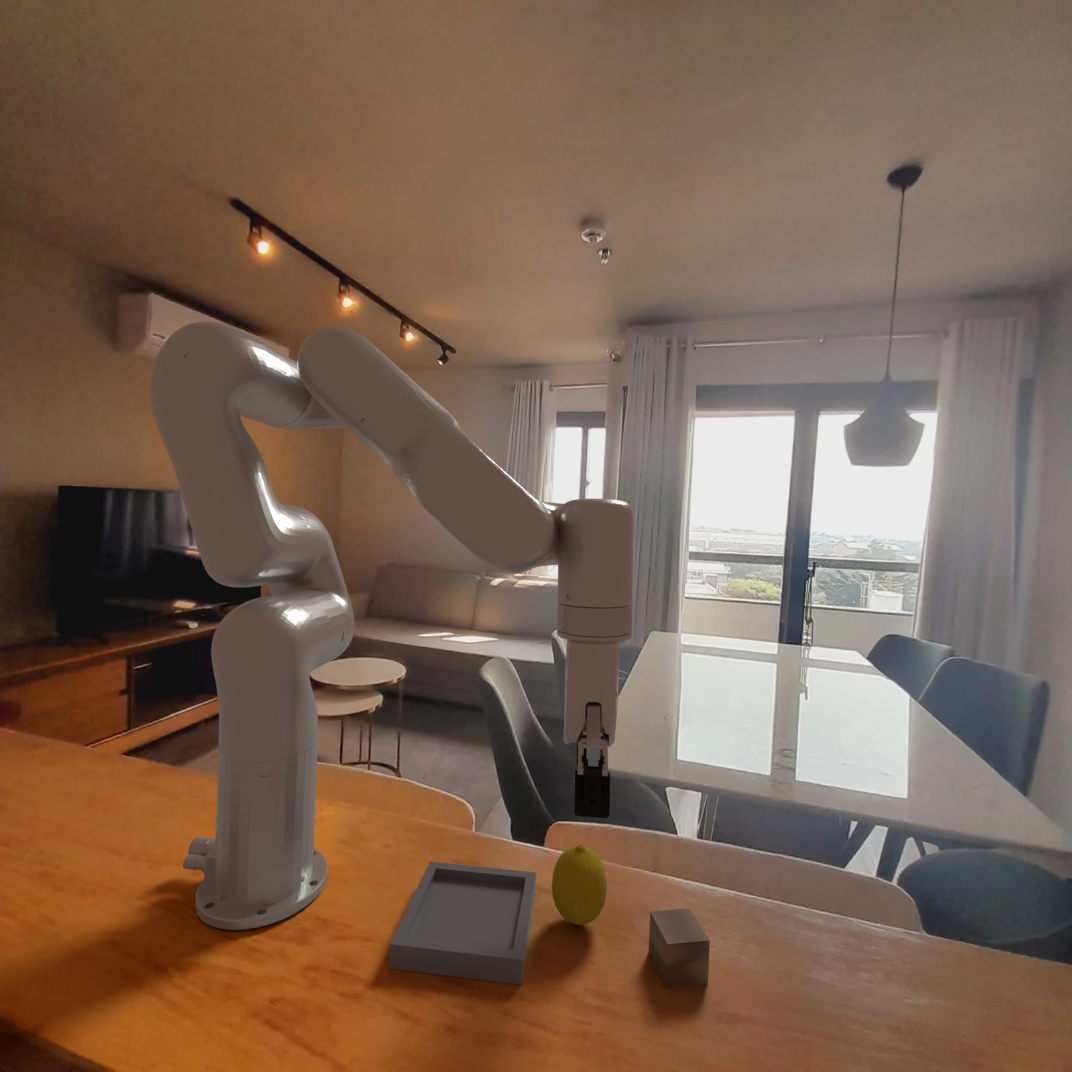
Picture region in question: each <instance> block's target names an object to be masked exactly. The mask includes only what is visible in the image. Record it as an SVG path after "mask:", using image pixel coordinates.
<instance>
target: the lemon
mask: <svg viewBox="0 0 1072 1072" xmlns="http://www.w3.org/2000/svg"><path fill="white" fill-rule="evenodd" d="M555 862H556V863H555V865H554V868H553V873H552V880H551V893H552V899H553V901H554V902H553V903H554V905H555V908H556V910H557V911H558V913H559V915H561V917H563V918H564V920H565V921H567V922H568V923H571V924H573V925H575V926H577V927H578V926H581V925H588V924H589V923H591V922H593V921H595V920H596V919H597V918H598V916H599V915H600V914H601V912H602V910H603V909H604V906H605V903H606V898H607V897H606V896H607V890H608V888H607V887H608V885H607V876H606V875H607V874H606V871H605V867H604V864H603V862H602V860H601V858H600V857H599V855H598V854H597V853H596V852H595V851H594V850H592V848H590V847H587V846H586V845H584V844H578V845H573V846H570V847H568V848H567V849H565V850H564V851H563V852H562V853H561V854H560V855H559V857H558V859H557V860H556V861H555Z"/></svg>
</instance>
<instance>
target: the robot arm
mask: <svg viewBox="0 0 1072 1072" xmlns="http://www.w3.org/2000/svg"><path fill="white" fill-rule="evenodd" d="M296 358H297V359H296V360H293V359H292V358H291V357H289V356H287V355H286V354H284V353H282V352H280V351H278V350H277V349H275V348H274V347H272V346H271V345H269V344H267V343H265V342H264V341H262V340H261V339H258V338H257V337H255V336H253V335H251V334H249V333H247V332H245V331H243V330H240V329H238V328H236V327H234V326H231V325H227V324H224V323H219V322H214V321H200V322H199V321H196V322H193V323H192V322H191V323H189V324H186V325H183V326H182V327H180V328H178V329H176V330H175V331H174V332H173V333H172V334H171V335H170V336H169V337H168V338H167V339H166V340H165V342H164V343H163V344H162V345H161V347H160V349H159V350H158V353H157V355H156V357H155V360H154V362H153V365H152V368H151V372H150V376H149V377H150V378H149V400H150V401H149V402H150V406H151V411H152V415H153V418H154V421H155V424H156V427H157V430H158V432H159V435H160V437H161V439H162V443H163V444H164V447H165V449H166V451H167V454H168V457H169V460H170V461H171V464H172V466H173V469H174V474H175V477H176V479H177V482H178V486H179V490H180V495H181V498H182V502H183V504H184V507H185V511H186V514H187V518H188V521H189V526H190V528H191V531H192V534H193V538H194V541H195V544H196V549H197V552H198V554H199V556H200V560H201V562H202V566H203V567H204V570H205V571H206V572H207V575H208V576H209V577H210V578H211V579H213V581H215V582H216V583H217V584H220V585H223V586H226V587H231V588H253V587H259V586H266V585H267V586H268V590H269V593H270V595H264V596H261V597H260V596H259V597H257V598H253V599H250V600H249V601H246V602H243V603H241V604H239V605H238V606H236V607H235V608H233V609H232V610H231V611H229V612H228V613H227V614H226V615H224V617H223V619H222V620H221V621H220V622H219V624H218V625H217V627H216V629H215V632H214V633H213V636H212V640H211V641H212V642H211V648H210V650H211V651H210V655H211V664H212V669H213V674H214V679H215V686H216V692H217V699H218V700H217V701H218V702H217V703H218V720H219V721H218V751H217V752H218V753H217V754H218V757H217V758H218V760H217V761H218V762H217V765H218V767H217V787H216V790H217V791H216V792H217V793H216V815H215V817H216V818H215V819H216V820H215V837H214V838H210V837H203V836H201V837H200V836H196V837H195V838H193V840H192V841H190V845H189V847H188V851H187V853H188V855H186V857H185V858H184V860H183V863H182V868H183V869H184V870H190V871H191V870H192V871H198V870H199V871H201V872H202V873H203V880H202V881H201V883H200V884H199V886H198V888H197V890H196V894H195V902H194V903H195V906H194V909H195V912H196V916H198V917H199V919H200V920H201V921H202V922H203V923H204V924H207V925H209V926H210V927H214V928H217V929H221V930H227V931H241V930H243V931H244V930H251V929H257V928H262V927H265V926H269V925H272V924H274V923H277V922H280V921H282V920H285V919H287V918H289V917H290V916H293V915H295V914H297V913H298V912H299V911H301V910H303V909H304V908H306V907H307V906H308V905H309V904H310V903H312V901H314V900H315V899H316V898H317V897H318V896H319V894H320V893H321V892H322V891H323V889H324V886H325V885H326V883H327V878H328V868H329V867H328V862H327V858H325V856H324V855H323V853H322V852H320V851H319V850H317V849H315V848H314V847H315V846H314V845H315V844H314V843H315V842H314V841H315V840H314V839H315V823H316V822H315V820H316V819H315V817H316V816H315V815H316V795H317V792H316V791H317V765H318V743H319V742H318V737H319V735H318V734H319V733H318V732H319V718H318V714H319V713H318V706H317V702H316V698H315V695H314V691H313V688H312V684H311V677H310V676H311V672H313V671H314V670H317V669H318V668H320V667H323V666H325V665H327V664H328V663H330V662H332V661H333V660H336V659H337V658H338V657H340V656H341V655H342V654H343V653H344V652H345V651H346V650H347V648H348V647H349V646H350V644H351V641H352V639H353V637H354V633H355V615H354V614H355V613H354V609H353V605H352V601H351V597H350V594H349V592H348V591H349V590H348V587H347V586H346V582H345V578H344V575H343V572H342V569H341V565H340V563H339V560H338V559H339V558H338V556H337V552H336V550H335V547H334V542H333V541H332V538H331V536H330V534H329V531H328V530H327V528H326V526H325V525H324V524H323V522H322V521H321V520H320V519H319V518H318V517H317V516H316V515H315V514H314V513H313V512H311V511H309V510H308V509H306V508H304V507H300V506H298V505H295V504H288V503H282V502H280V501H279V500H278V498H277V496H276V494H275V491H274V489H273V486H272V484H271V480H270V478H269V474H268V470H267V465H266V461H265V460H264V457H263V455H262V453H261V451H260V449H259V448H258V446H257V445H256V442H255V441H254V439H253V438H252V436H251V435H250V433H249V432H248V430H247V429H246V427H245V425H244V423H243V421H242V417H244V418H247V419H250V420H252V421H255V422H258V423H261V424H263V425H266V426H270V427H272V428H273V427H274V428H278V429H285V430H317V429H318V430H320V429H325V430H326V429H347V430H348V431H349V432H350V433H352V435H353V436H354V437H355V438H357V439H358V440H359V442H361V443H362V444H363V445H364V446H365V447H367V449H369V451H371V453H373V454H374V455H375V457H377V458H378V459H379V460H380V461H382V463H384V465H386V466H387V468H389V469H390V470H391V472H393V473H394V474H395V476H396V477H397V479H398V480H399V482H400V483H401V484H402V485H403V486H404V487H405V488H406V489H407V490H408V491H409V492H410V494H411V495H412V496H413V497H414V498H415V499H416V500H417V502H418V503H419V504H420V505H421V506H422V507H423V508H424V510H425V511H426V512H427V513H429V514H430V515H431V516H432V517H433V519H434V520H435V521H437V522H438V523H439V524H440V525H441V526H442V527H443V528H444V529H445V530H446V531H447V532H448V533H450V535H452V536H453V537H454V538H455V539H456V540H457V541H458V542H459V543H460V544H461V545H462V546H464V547H465V549H467V550H468V551H469V552H470V553H471V554H473V555H474V557H476V558H477V559H478V560H480V561H481V562H482V563H484V564H485V565H486V566H488V567H489V568H492V569H494V570H496V571H498V572H501V573H505V574H522V573H524V572H527V571H528V572H529V571H530V570H531V571H532V569H536V568H539V567H547V566H557V615H556V616H557V619H556V626H557V627H556V635H557V637H559V638H560V639H564V640H567V641H566V648H565V649H566V651H565V662H564V663H565V665H564V669H565V670H564V705H563V706H564V711H563V712H564V715H563V718H564V719H563V741H564V743H565V745H567V746H570V745H571V743H573V744H577V745H576V768H577V769H575V770H574V772H575V773H574V814H575V816H576V817H584V818H586V817H587V818H596V819H597V818H600V819H608V818H609V817H610V811H611V810H610V809H611V808H610V807H611V804H610V803H611V802H610V801H611V772H610V771H609V753H608V752H609V751H608V749H609V748H610V747H611V746H613V745H614V744H615V741H616V730H617V729H616V728H617V721H618V720H617V718H618V704H619V681H620V647H621V646H620V642H626V641H629V640H631V639H632V637H633V636H632V635H633V634H632V631H633V583H634V582H633V581H634V579H633V577H634V576H633V575H634V574H633V571H634V512H633V509H632V507H631V505H630V504H628V503H627V502H626V501H623V500H619V499H614V498H613V499H611V498H578V499H572V500H569V501H566V502H565V503H560V502H559V503H557V502H549V501H542V500H539V499H537V498H536V497H534V496H533V495H532V494H530V492H529V491H527V490H526V489H525V488H524V487H523V486H521V485H520V484H519V483H518V482H517V481H516V480H515V479H514V478H512V477H511V475H509V474H508V473H507V472H506V471H504V469H503V468H502V467H500V466H499V465H498V464H497V463H496V462H495V461H494V460H493V459H492V458H491V457H490V456H488V455H487V454H486V453H485V452H484V451H483V450H482V449H481V448H480V447H478V445H476V444H475V442H474V441H472V440H471V439H470V438H469V437H468V436H467V434H466V433H465V432H464V431H463V430H462V429H461V427H460V426H459V423H458V421H457V420H456V418H455V417H454V416H453V415H452V414H451V413H450V412H449V411H448V409H446V408H445V407H444V406H443V405H442V404H440V403H439V402H438V401H437V400H436V399H435V398H434V397H432V395H430V394H429V393H428V392H427V391H426V390H424V389H423V388H422V387H421V386H420V385H419V384H418V383H417V382H416V381H415V380H414V379H412V378H411V377H410V376H409V375H408V374H407V373H406V372H404V371H403V370H402V369H401V368H400V367H399V366H398V365H397V364H395V362H393V361H392V359H390V358H389V357H388V356H387V355H386V354H385V353H383V352H382V351H381V350H380V349H379V348H378V347H377V346H376V345H375V344H374V343H373V342H371V341H370V339H368V338H366V337H364V336H363V335H362V334H360V333H359V332H356V331H354V330H352V329H350V328H347V327H343V326H325V327H322V328H319V329H317V330H314V331H313V332H312V333H310V334H309V335H308V336H307V337H306V338H304V341H303V342H302V343H301V345H300V347H299V350H298V352H297V357H296Z"/></svg>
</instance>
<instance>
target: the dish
mask: <svg viewBox="0 0 1072 1072" xmlns="http://www.w3.org/2000/svg"><path fill="white" fill-rule="evenodd" d="M536 879H537V872H534V871H523V870H515V869H506V868H503V869H502V868H498V867H495V868H494V867H486V866H476V865H467V864H457V863H447V862H446V863H445V862H437V861H429V862H428V864H427V867H426V869H425V871H424V872H423V875H422V876H421V879H420V881H419V883H418V885H417V888H416V890H415V891H414V894H413V895H412V898H411V899H410V901H409V904H408V906H407V908H406V910H405V912H404V914H403V916H402V917H401V920H400V922H399V925H398V926H397V928H396V930H395V932H394V935H393V936H392V939H391V941H390V943H389V956H388V959H389V960H388V969H391V970H392V969H393V970H398V971H406V972H413V973H424V974H431V975H438V976H439V975H441V976H446V977H455V978H463V979H471V980H477V981H478V980H479V981H488V982H495V983H503V984H511V985H517V986H518V985H519V986H522V985H523V984H522V983H523V979H524V978H523V977H524V970H525V965H526V964H525V963H526V957H527V950H528V944H529V937H530V932H531V931H530V930H531V925H532V924H531V923H532V917H533V910H534V903H535V896H536V888H537V887H536V884H537V883H536V882H537V880H536Z"/></svg>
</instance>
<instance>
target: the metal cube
mask: <svg viewBox="0 0 1072 1072" xmlns="http://www.w3.org/2000/svg"><path fill="white" fill-rule="evenodd" d="M648 932H649V933H648V935H649V937H648V954H649V957H650V958H651V961H652V963H653V965H654V967H655V969H656V972H657V974H658V976H659V977H660V979H661V981H662V984H663V986H664V988H665V989H672V988H682V987H683V988H684V987H691V986H699V985H700V986H701V985H702V986H703V985H708V984H709V967H710V948H711V947H710V943H711V942H710V941H711V939H710V938H709V937H708V935H707V933H706V932H705V930H704V928H702V926H701V924H700V923H699V921H698V920H697V917H696V916H695V915H694V913H693V912H692V910H691V908H681V909H680V908H679V909H666V910H655V911H650V914H649V931H648Z"/></svg>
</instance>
